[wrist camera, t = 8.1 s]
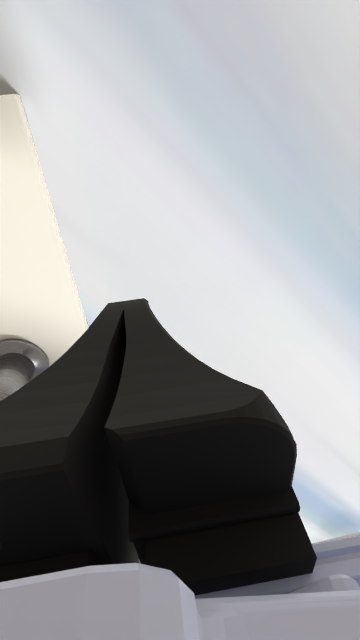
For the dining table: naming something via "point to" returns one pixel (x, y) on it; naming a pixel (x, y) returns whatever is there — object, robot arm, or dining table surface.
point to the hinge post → (19, 364)
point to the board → (32, 247)
